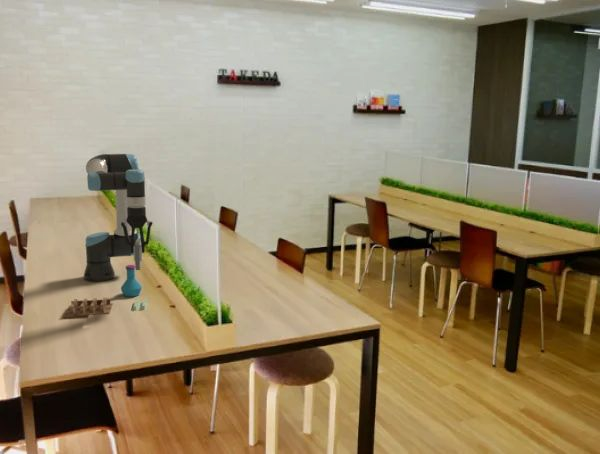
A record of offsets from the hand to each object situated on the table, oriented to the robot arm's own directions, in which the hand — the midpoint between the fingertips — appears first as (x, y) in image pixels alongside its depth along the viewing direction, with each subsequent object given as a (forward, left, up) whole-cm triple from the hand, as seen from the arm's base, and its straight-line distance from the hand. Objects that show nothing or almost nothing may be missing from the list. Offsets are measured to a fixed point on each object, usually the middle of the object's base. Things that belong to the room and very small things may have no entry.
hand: (138, 260), depth 238 cm
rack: (+2, -21, -22) cm, 30 cm away
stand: (0, 0, -22) cm, 22 cm away
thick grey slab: (0, 0, -3) cm, 3 cm away
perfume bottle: (-17, -5, -22) cm, 28 cm away
